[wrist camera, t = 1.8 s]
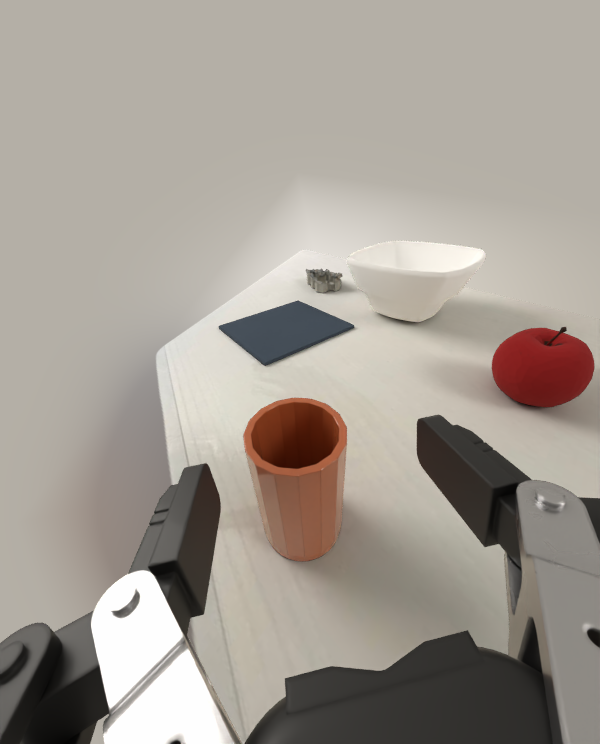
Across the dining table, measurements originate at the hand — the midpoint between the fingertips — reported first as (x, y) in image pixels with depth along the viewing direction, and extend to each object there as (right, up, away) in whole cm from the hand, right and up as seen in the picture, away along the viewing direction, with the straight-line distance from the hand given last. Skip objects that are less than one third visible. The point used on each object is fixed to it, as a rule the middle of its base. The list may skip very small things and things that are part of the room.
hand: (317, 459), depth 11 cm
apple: (+28, 0, +26) cm, 38 cm away
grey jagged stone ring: (+6, +26, +65) cm, 70 cm away
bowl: (+21, +16, +48) cm, 55 cm away
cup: (0, -9, +14) cm, 17 cm away
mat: (-4, +12, +45) cm, 46 cm away
